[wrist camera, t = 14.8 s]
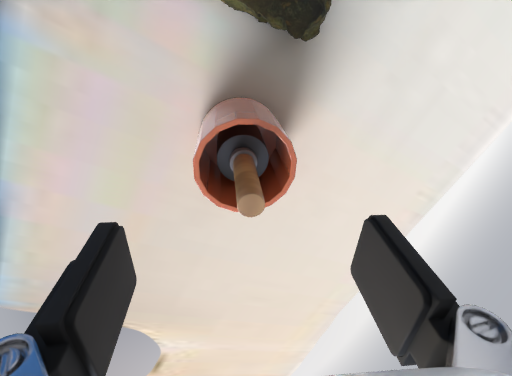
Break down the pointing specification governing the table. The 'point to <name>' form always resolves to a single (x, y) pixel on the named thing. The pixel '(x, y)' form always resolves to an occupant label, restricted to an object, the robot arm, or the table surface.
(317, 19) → the stone
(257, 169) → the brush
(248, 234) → the table surface
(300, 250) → the table surface
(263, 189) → the tumbler
